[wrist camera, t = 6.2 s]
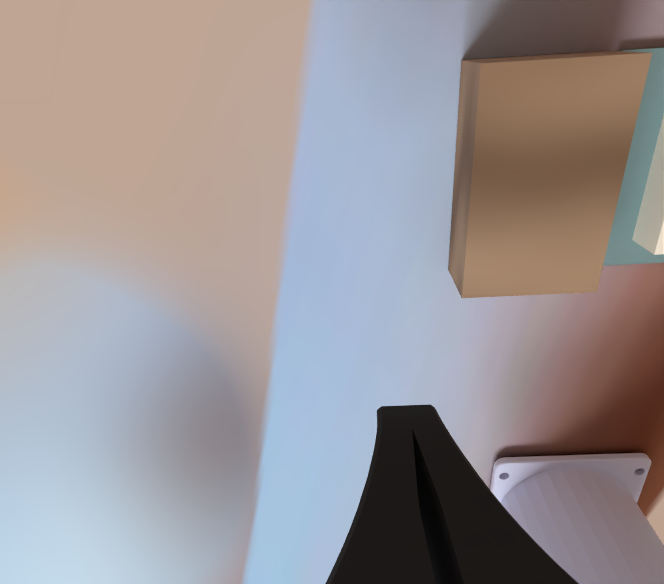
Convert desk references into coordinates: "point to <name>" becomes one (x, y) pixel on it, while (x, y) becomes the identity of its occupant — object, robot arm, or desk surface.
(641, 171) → the mat
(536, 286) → the block
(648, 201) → the cream rectangular block
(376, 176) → the desk surface
